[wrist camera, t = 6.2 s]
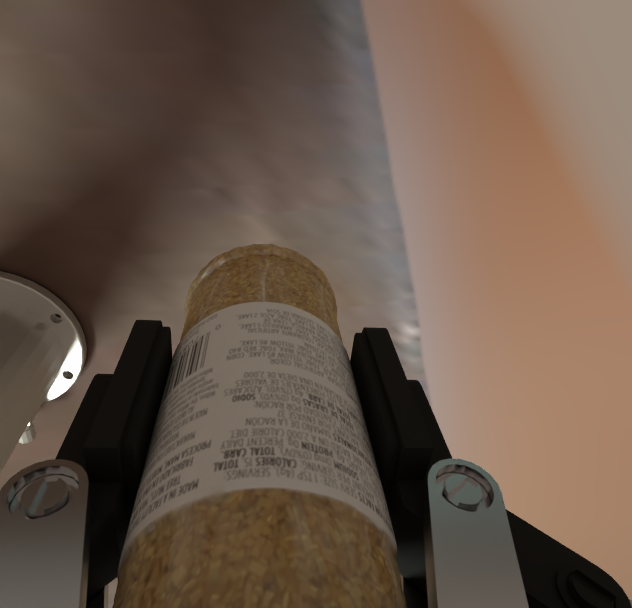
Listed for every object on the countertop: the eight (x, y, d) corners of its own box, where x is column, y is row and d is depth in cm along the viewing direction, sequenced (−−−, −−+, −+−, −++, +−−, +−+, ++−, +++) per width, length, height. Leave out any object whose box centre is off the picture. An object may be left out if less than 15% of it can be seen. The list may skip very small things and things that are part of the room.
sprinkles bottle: (263, 388, 17) (267, 1248, 5) (153, 307, 15) (-258, 1408, 3) (367, 304, 15) (690, 1204, 4) (260, 203, 13) (249, 1433, 2)
